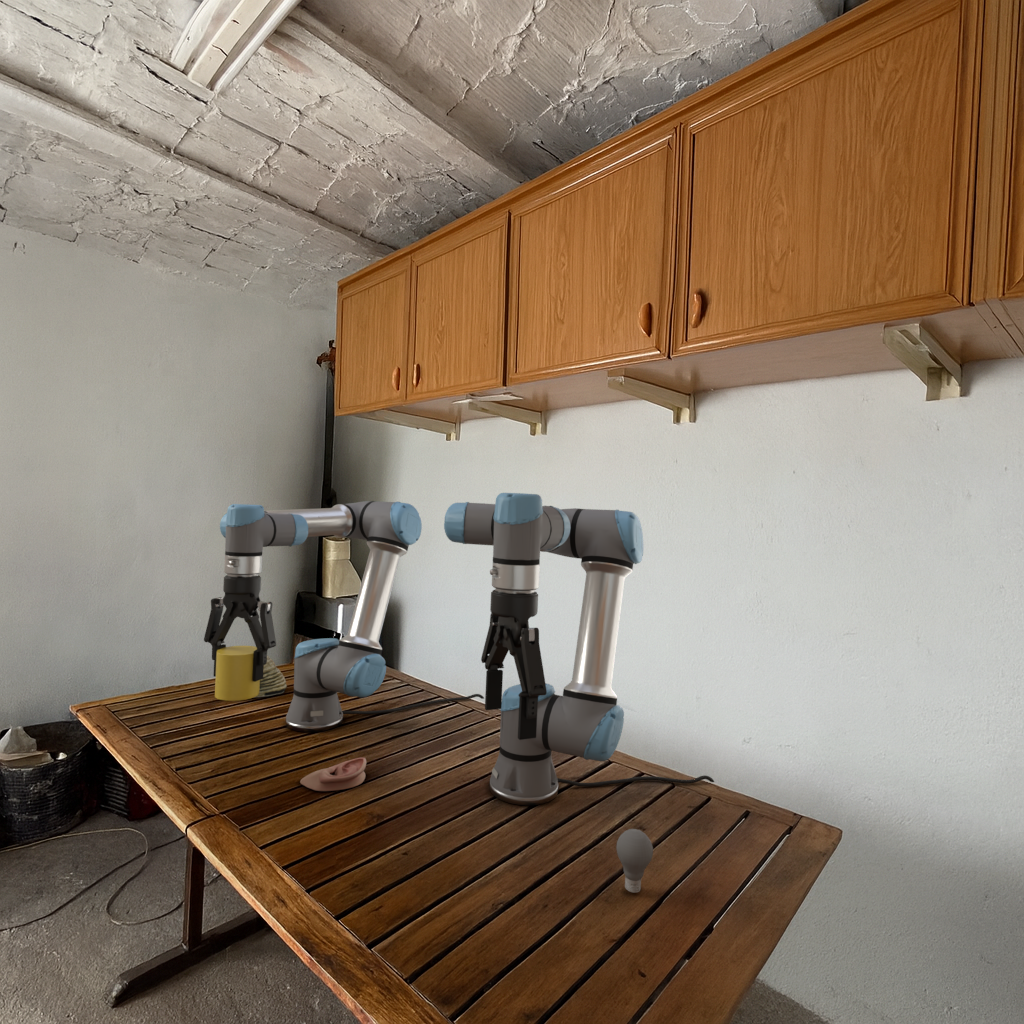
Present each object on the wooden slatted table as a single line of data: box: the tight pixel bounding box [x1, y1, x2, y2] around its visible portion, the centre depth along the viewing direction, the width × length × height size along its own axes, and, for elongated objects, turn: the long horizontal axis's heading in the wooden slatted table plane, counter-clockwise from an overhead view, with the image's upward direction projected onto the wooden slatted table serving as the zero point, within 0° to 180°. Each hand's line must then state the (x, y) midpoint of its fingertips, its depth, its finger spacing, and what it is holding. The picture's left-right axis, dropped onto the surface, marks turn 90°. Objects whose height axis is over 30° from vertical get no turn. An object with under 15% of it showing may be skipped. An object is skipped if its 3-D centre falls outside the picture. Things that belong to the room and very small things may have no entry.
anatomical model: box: [299, 756, 367, 792], centre depth 141 cm, size 13×4×12 cm
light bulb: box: [615, 828, 654, 894], centre depth 106 cm, size 6×6×10 cm
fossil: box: [255, 654, 288, 698], centre depth 198 cm, size 9×18×15 cm, turn 132°
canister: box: [214, 645, 260, 702], centre depth 138 cm, size 9×9×10 cm
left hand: (238, 677), depth 139 cm, fingers closed on canister, 9 cm apart
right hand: (508, 722), depth 101 cm, fingers open, 13 cm apart
